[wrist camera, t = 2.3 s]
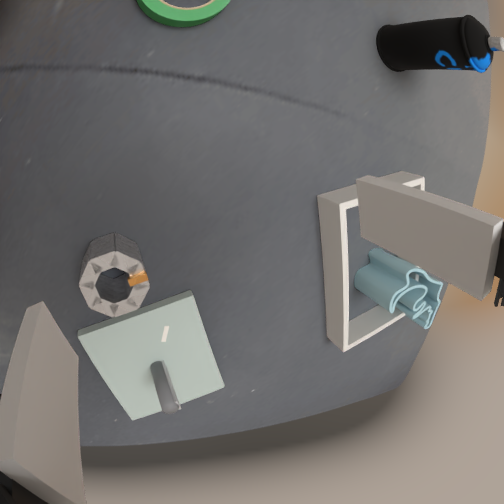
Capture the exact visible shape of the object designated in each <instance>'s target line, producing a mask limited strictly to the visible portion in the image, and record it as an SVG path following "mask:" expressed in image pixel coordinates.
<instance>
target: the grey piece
mask: <svg viewBox="0 0 504 504" xmlns="http://www.w3.org/2000/svg"><path fill="white" fill-rule="evenodd" d="M114 267H116V268H118V269H120V270H123V271H125V274H124V275H121V276H119V277H116V278H113V279H112V278H109V277H107V276H105V275H102V274H101V273H100V272H103V271H105V270H108V269H111V268H114ZM79 287H80V289H81V291H82V294H83V296H84V298H85V300H86V302H87V304H88V306H89V307H90V309H93V310H95V311H98V312H100V313H103V314H106V315H108V316H111V317H114V316H115V317H118V316H120V315H123V314H126V313H129V312H132V311H134V310H137V309H138V308H139V307H140V305H141V303H142V301H143V299H144V297H145V296H146V294H147V292H148V290H149V288H150V285H149V281H148V277H147V274H146V271H145V267H144V263H143V260H142V258H141V255H140V252H139V249H138V246H137V243H136V242H135V241H133V240H130V239H128V238H126V237H124V236H122V235H120V234H118V233H116V232H115V234H114V232H113V233H110V234H107V235H105V236H102V237H99V238H96V239H94V240H92V241H91V243H90V245H89V247H88V249H87V252H86V254H85V256H84V258H83V261H82V266H81V273H80V279H79Z"/></svg>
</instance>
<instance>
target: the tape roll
mask: <svg viewBox="0 0 504 504" xmlns="http://www.w3.org/2000/svg"><path fill="white" fill-rule="evenodd" d="M229 2H230V0H211V1H209V2H208V3H206V4H204V5H201V6H198V7H193V8H181V7H176V6H173V5H170V4H168V3H166V2H164V1H163V0H137V3H138V5H139V6H140V8H141V9H142V11H143V12H144V13H145V14H146V15H147V16H149V17H150V18H152V19H153V20H155V21H157V22H159V23H162V24H165V25H168V26H173V27H190V26H196V25H199V24H202V23H205V22H207V21H209V20H210V19H212V18H214V17H215V16H216V15H217V14H218V13H219V12H221V11H222V10H223V9H224V8H225V7H226V6H227V4H228V3H229Z"/></svg>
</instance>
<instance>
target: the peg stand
mask: <svg viewBox="0 0 504 504" xmlns="http://www.w3.org/2000/svg"><path fill="white" fill-rule="evenodd" d="M78 338H79V340H80V342H81V344H82V345H83V347H84V349H85V350H86V352H87V354H88V355H89V357H90V359H91V360H92V362H93V363H94V365H95V367H96V368H97V370H98V371H99V373H100V374H101V376H102V378H103V379H104V381H105V382H106V384H107V385H108V387H109V388H110V390H111V391H112V392H113V394H114V395H115V397H116V398H117V400H118V401H119V402H120V404H121V405H122V407H123V408H124V409H125V411H126V412H127V413H128V415H129V416H130V418H131V419H132V420H136V419H139V418H142V417H145V416H148V415H151V414H154V413H157V412H160V411H163V412H164V413H166V414H173V413H175V412H177V411H178V410H179V409H181V407H180V404H182V403H185V402H187V401H190V400H193V399H195V398H198V397H201V396H203V395H206V394H208V393H211V392H213V391H216V390H218V389H221V388H223V387H225V386H224V383H223V380H222V378H221V375H220V372H219V369H218V367H217V364H216V361H215V358H214V356H213V353H212V350H211V347H210V344H209V341H208V338H207V335H206V332H205V329H204V327H203V324H202V321H201V318H200V315H199V311H198V308H197V305H196V302H195V299H194V296H193V294H192V292H191V290H188V291H186V292H183V293H180V294H177V295H175V296H172V297H169V298H166V299H164V300H161V301H158V302H155V303H153V304H150V305H147V306H144V307H141V308H139V309H137V310H134V311H132V312H129V313H126V314H123V315H120V316H118V317H114V318H111V319H108V320H105V321H102V322H100V323H97V324H94V325H91V326H88V327H85V328H83V329H80V330H78Z"/></svg>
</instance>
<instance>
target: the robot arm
mask: <svg viewBox="0 0 504 504" xmlns="http://www.w3.org/2000/svg"><path fill="white" fill-rule="evenodd" d="M356 186H357V196H358V206H359V217H360V230H361V237H362V238H364V239H366V240H368V241H370V242H372V243H374V244H376V245H378V246H380V247H382V248H384V249H386V250H388V251H390V252H392V253H394V254H396V255H398V256H400V257H402V258H404V259H405V260H407V261H409V262H411V263H413V264H415V265H417V266H419V267H421V268H422V269H424V270H426V271H428V272H430V273H432V274H434V275H435V276H437V277H439V278H441V279H443V280H445V281H446V282H448V283H450V284H452V285H454V286H455V287H457V288H459V289H461V290H462V291H464V292H466V293H468V294H469V295H471V296H473V297H475V298H477V299H478V300H480V301H482V300H483V299H484V297H486V296H487V295H488V294H489V293H490V292H491V289H492V284H493V279H494V276H497V277H498V278H500V281H499V285H498V289H497V293H496V298H495V302H494V304H495V306H496V307H497V306H498V302H499V299H500V298H502V297H503V298H502V302H501V306H504V222H503V219H502V218H500V217H497V216H495V215H492V214H489V213H487V212H484V211H482V210H479V209H476V208H473V207H471V206H468V205H465V204H462V203H459V202H456V201H453V200H450V199H447V198H444V197H441V196H438V195H435V194H432V193H429V192H426V191H422V190H419V189H416V188H413V187H409V186H406V185H402V184H399V183H396V182H392V181H388V180H385V179H381V178H378V177H374V176H370V175H367V176H364V177H361V178H358V179H356ZM78 361H79V357H78V356H77V354H76V353H75V351H74V350H73V348H72V347H71V345H70V344H69V342H68V341H67V339H66V338H65V336H64V335H63V333H62V332H61V330H60V328H59V327H58V325H57V324H56V322H55V320H54V319H53V317H52V315H51V314H50V312H49V310H48V309H47V307H46V305H45V303H44V302H43V301H42V302H39V303H37V304H35V305H33V306H30V307H28V308H27V309H26V312H25V315H24V318H23V321H22V324H21V327H20V330H19V333H18V336H17V339H16V342H15V346H14V349H13V352H12V356H11V359H10V363H9V367H8V370H7V374H6V378H5V382H4V387H3V391H2V394H0V504H86V497H85V490H84V482H83V474H82V464H81V453H80V439H79V418H78Z"/></svg>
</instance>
